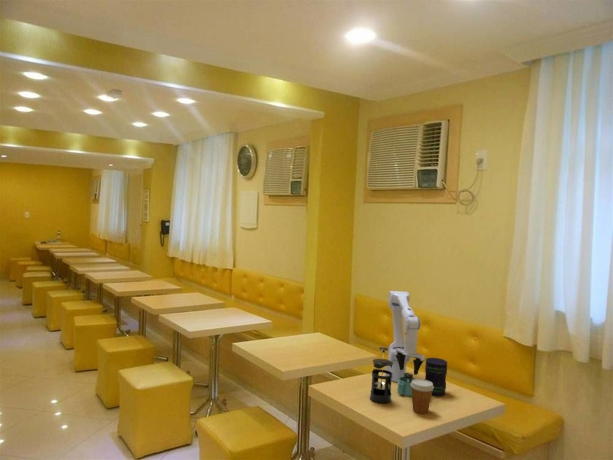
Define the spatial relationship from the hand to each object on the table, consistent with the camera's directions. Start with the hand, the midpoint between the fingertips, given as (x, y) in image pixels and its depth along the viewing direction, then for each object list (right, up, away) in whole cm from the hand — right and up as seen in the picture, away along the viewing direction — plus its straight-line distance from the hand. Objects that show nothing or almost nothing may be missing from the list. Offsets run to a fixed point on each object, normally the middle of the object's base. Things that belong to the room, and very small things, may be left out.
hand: (408, 372), depth 212 cm
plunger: (-1, -10, 0) cm, 10 cm away
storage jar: (+13, -11, +2) cm, 17 cm away
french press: (-15, -9, -10) cm, 20 cm away
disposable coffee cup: (+1, -10, -20) cm, 22 cm away
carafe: (-1, -10, 0) cm, 10 cm away
